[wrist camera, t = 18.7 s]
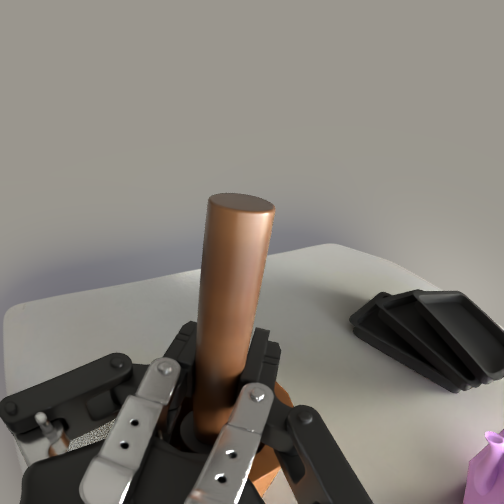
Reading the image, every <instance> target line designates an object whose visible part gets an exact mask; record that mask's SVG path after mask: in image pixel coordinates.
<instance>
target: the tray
mask: <svg viewBox="0 0 504 504" xmlns="http://www.w3.org/2000/svg"><path fill="white" fill-rule="evenodd" d="M349 320H350V322H351V323H352V324H353V325H354V326H355V327H354V330H353V333H354V334H355V335H356V336H357V337H358V338H360V339H362V340H363V341H365V342H367V343H368V344H370V345H372V346H373V347H375V348H377V349H378V350H380V351H382V352H383V353H385V354H387V355H388V356H390V357H392V358H394V359H395V360H397V361H399V362H400V363H402V364H404V365H405V366H407V367H409V368H411V369H412V370H414V371H416V372H417V373H419V374H421V375H423V376H424V377H426V378H428V379H430V380H431V381H433V382H435V383H436V384H438V385H440V386H442V387H443V388H445V389H447V390H449V391H450V392H453V393H458V392H460V390H463V391H466V390H469V389H471V388H472V387H475V388H476V387H479V386H480V385H481V384H482V383H483V384H489V383H491V382H493V381H495V380H499V379H501V378H503V377H504V331H503V330H502V329H501V328H500V327H499V326H498V325H497V324H496V323H495V322H494V321H493V320H492V319H491V318H490V317H489V316H488V315H487V314H486V313H485V312H483V311H482V310H481V309H480V308H479V307H478V306H477V305H476V304H474V303H473V302H472V301H471V300H470V299H469V298H468V297H467V296H466V295H464V294H463V293H461V292H459V291H423V290H419V289H417V290H413V291H409V292H405V293H401V294H397V295H391V294H388V293H386V292H380V293H379V294H377V295H376V296H375V297H374V298H373V299H371V300H370V301H369V302H368V303H367V304H365V305H364V306H363V307H362V308H360V309H359V310H358V311H357V312H355V313H354V314H353V315H352V316H351V317H350V319H349Z"/></svg>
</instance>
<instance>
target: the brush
mask: <svg viewBox="0 0 504 504" xmlns="http://www.w3.org/2000/svg"><path fill="white" fill-rule="evenodd" d="M274 215H275V206H274V205H273V204H272V203H270V202H268V201H266V200H264V199H262V198H259V197H255V196H251V195H245V194H237V193H220V194H216V195H212V196H211V197H209V199H208V205H207V214H206V224H205V234H204V244H203V255H202V265H201V277H200V290H199V303H198V317H197V333H196V351H195V373H194V400H193V411H191V412H190V413H188V414H187V415H186V416H185V417H184V418H183V420H182V422H181V424H180V445H181V451H182V452H189V453H199V454H209V455H210V452H211V450H212V448H213V446H214V444H215V442H216V440H217V438H218V436H219V433H220V431H221V429H222V427H223V425H224V424H225V423H227V421H228V419H229V416H230V414H231V412H232V410H233V408H234V405H235V400H236V395H237V390H238V385H239V380H240V376H241V373H242V371H243V369H244V367H245V363H246V359H247V354H248V349H249V344H250V339H251V334H252V329H253V324H254V319H255V314H256V309H257V304H258V299H259V294H260V289H261V283H262V278H263V273H264V268H265V263H266V257H267V252H268V247H269V241H270V236H271V231H272V225H273V220H274Z"/></svg>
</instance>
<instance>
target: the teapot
mask: <svg viewBox="0 0 504 504" xmlns="http://www.w3.org/2000/svg"><path fill="white" fill-rule="evenodd" d="M485 437H486V439H487V441H488V442H489V444H488V445H487V446H486V447H485V448H484V449H483V450H482V451H480V452H479V453H478V454H477V455H476V456H475V457H474V458H473V459H472V460H470V461H469V469H468V476H467V483H466V490H465V495H464V501H463V504H504V429H503V430H502V431H501V432H500V433H499V434H497V433H495V432H490V431H489V432H486V433H485Z"/></svg>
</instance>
